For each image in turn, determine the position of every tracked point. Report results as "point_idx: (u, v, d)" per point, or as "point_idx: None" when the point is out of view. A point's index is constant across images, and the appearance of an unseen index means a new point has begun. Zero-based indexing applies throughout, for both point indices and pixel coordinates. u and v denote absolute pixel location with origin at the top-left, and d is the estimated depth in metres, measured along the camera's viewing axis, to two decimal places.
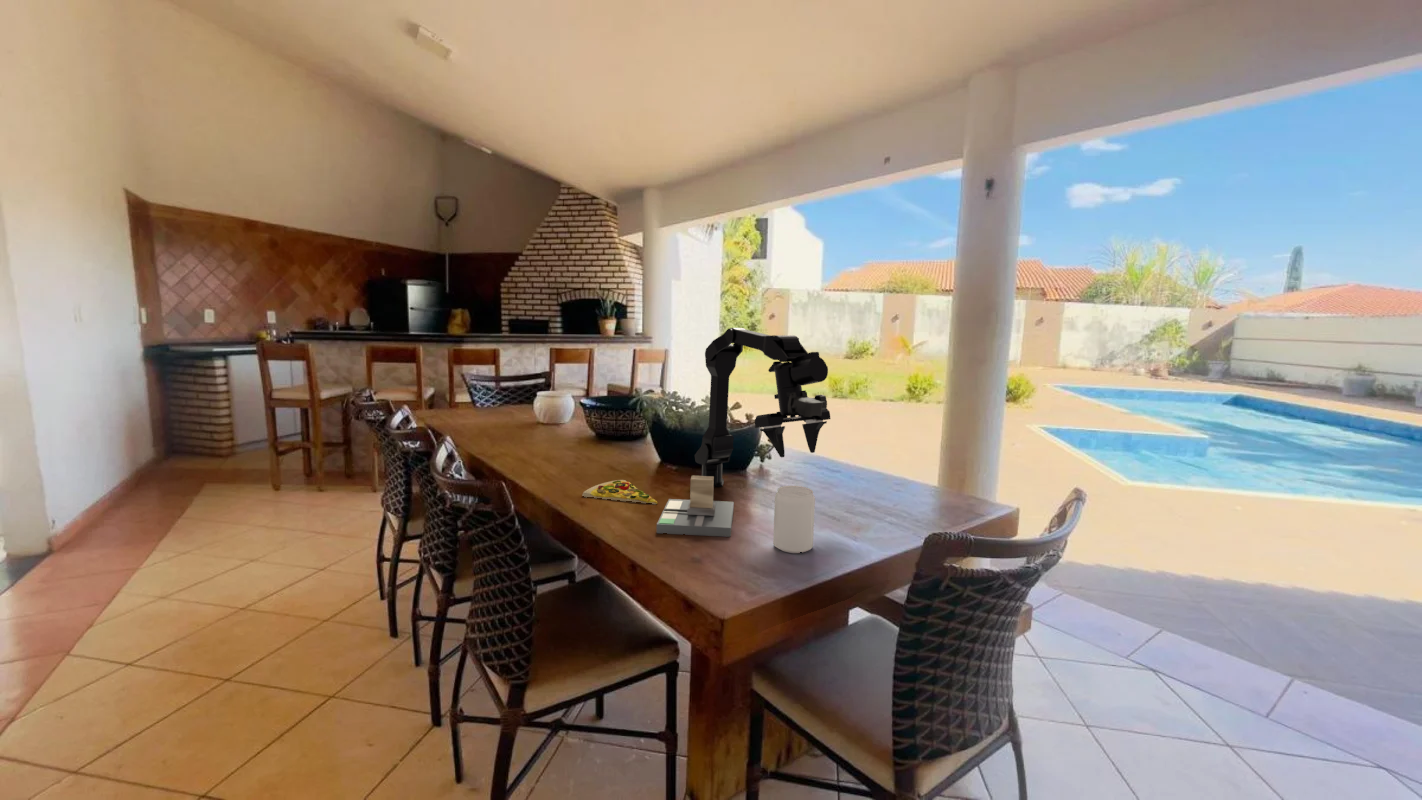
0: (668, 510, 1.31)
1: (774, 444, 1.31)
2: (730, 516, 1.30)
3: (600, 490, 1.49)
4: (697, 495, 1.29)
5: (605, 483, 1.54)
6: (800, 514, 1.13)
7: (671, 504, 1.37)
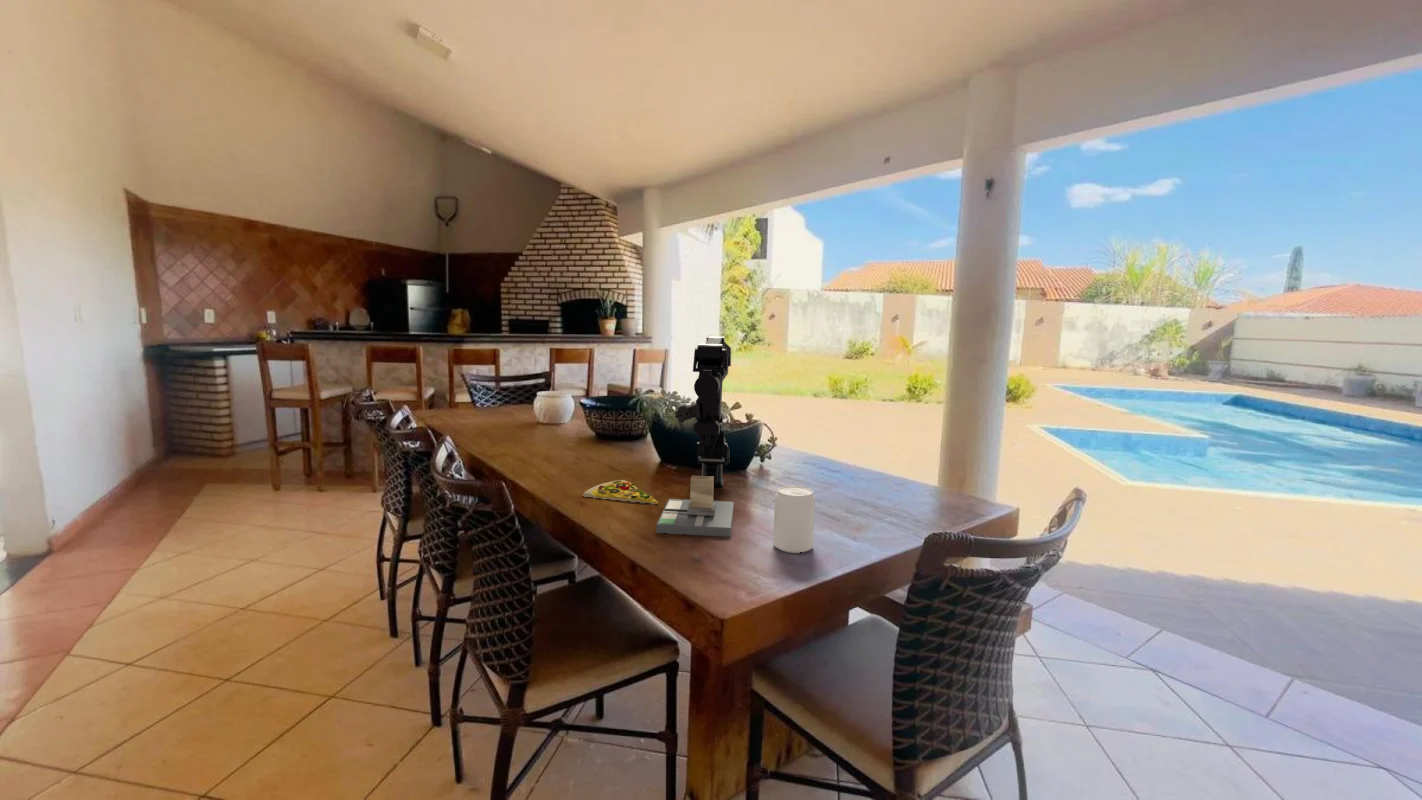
0: (668, 510, 1.31)
1: None
2: (730, 516, 1.30)
3: (601, 490, 1.49)
4: (697, 495, 1.29)
5: (606, 483, 1.54)
6: (800, 514, 1.13)
7: (671, 504, 1.37)
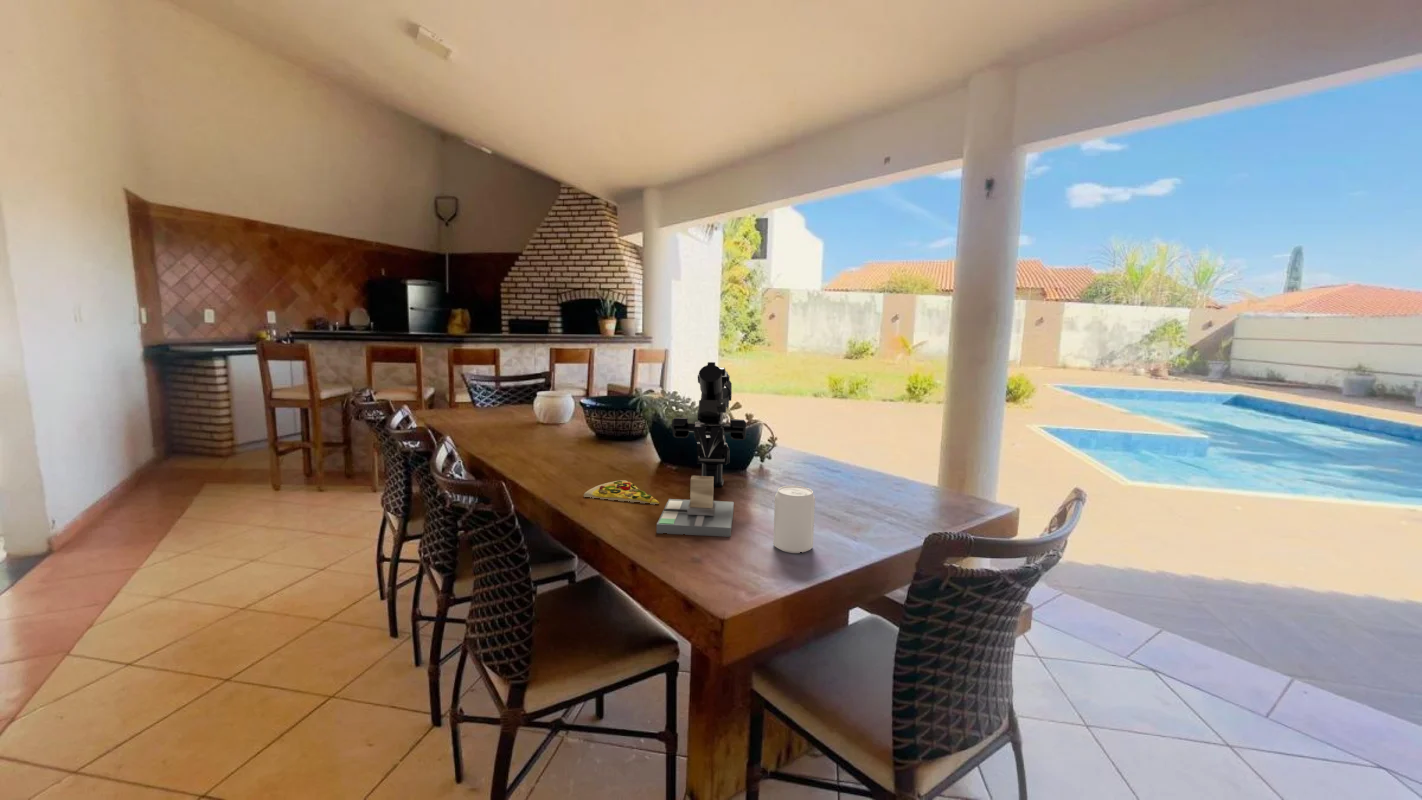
0: (668, 510, 1.31)
1: (702, 448, 1.44)
2: (730, 516, 1.30)
3: (602, 490, 1.49)
4: (697, 495, 1.29)
5: (606, 483, 1.54)
6: (800, 514, 1.13)
7: (671, 504, 1.37)
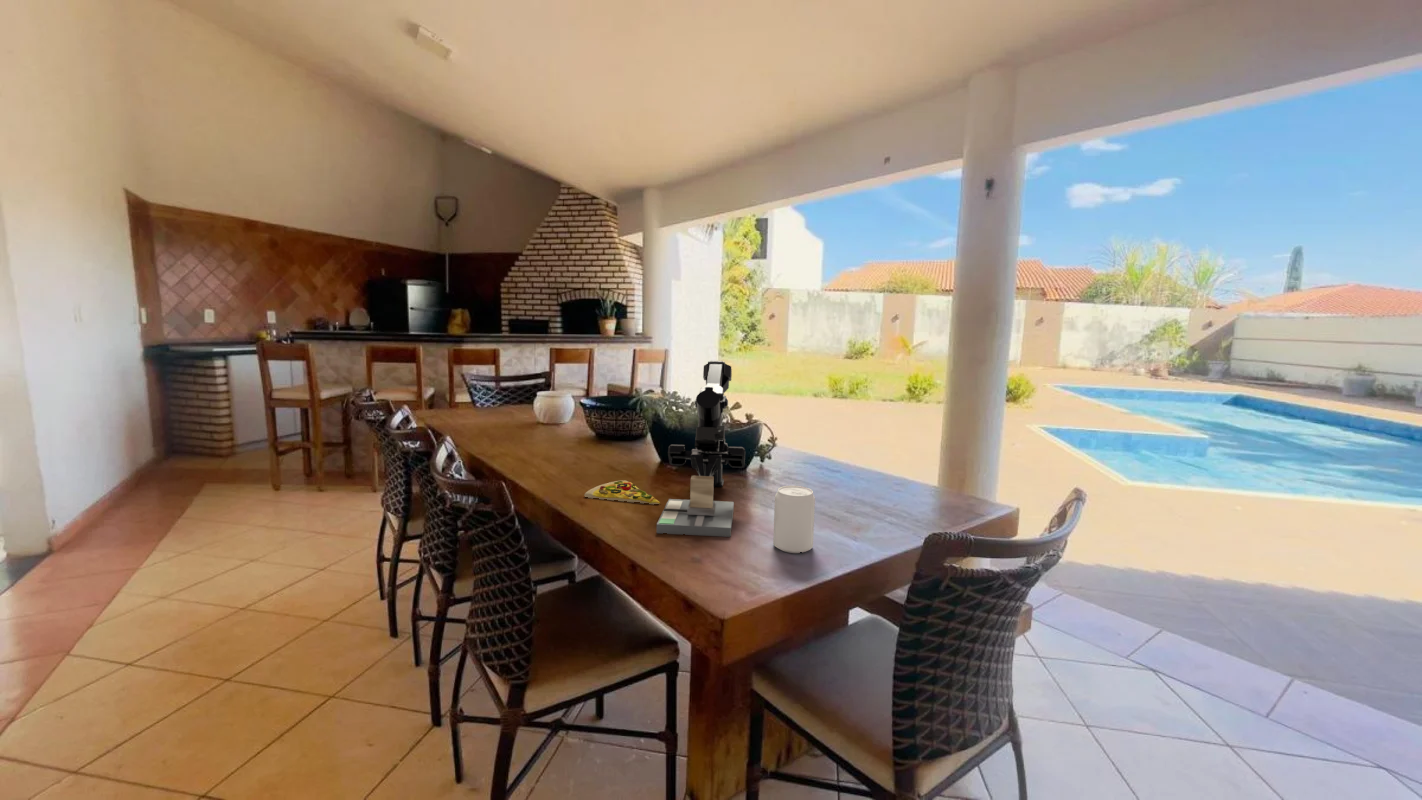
0: (668, 510, 1.31)
1: None
2: (730, 516, 1.30)
3: (602, 491, 1.48)
4: (697, 495, 1.29)
5: (607, 484, 1.54)
6: (800, 514, 1.13)
7: (671, 504, 1.37)
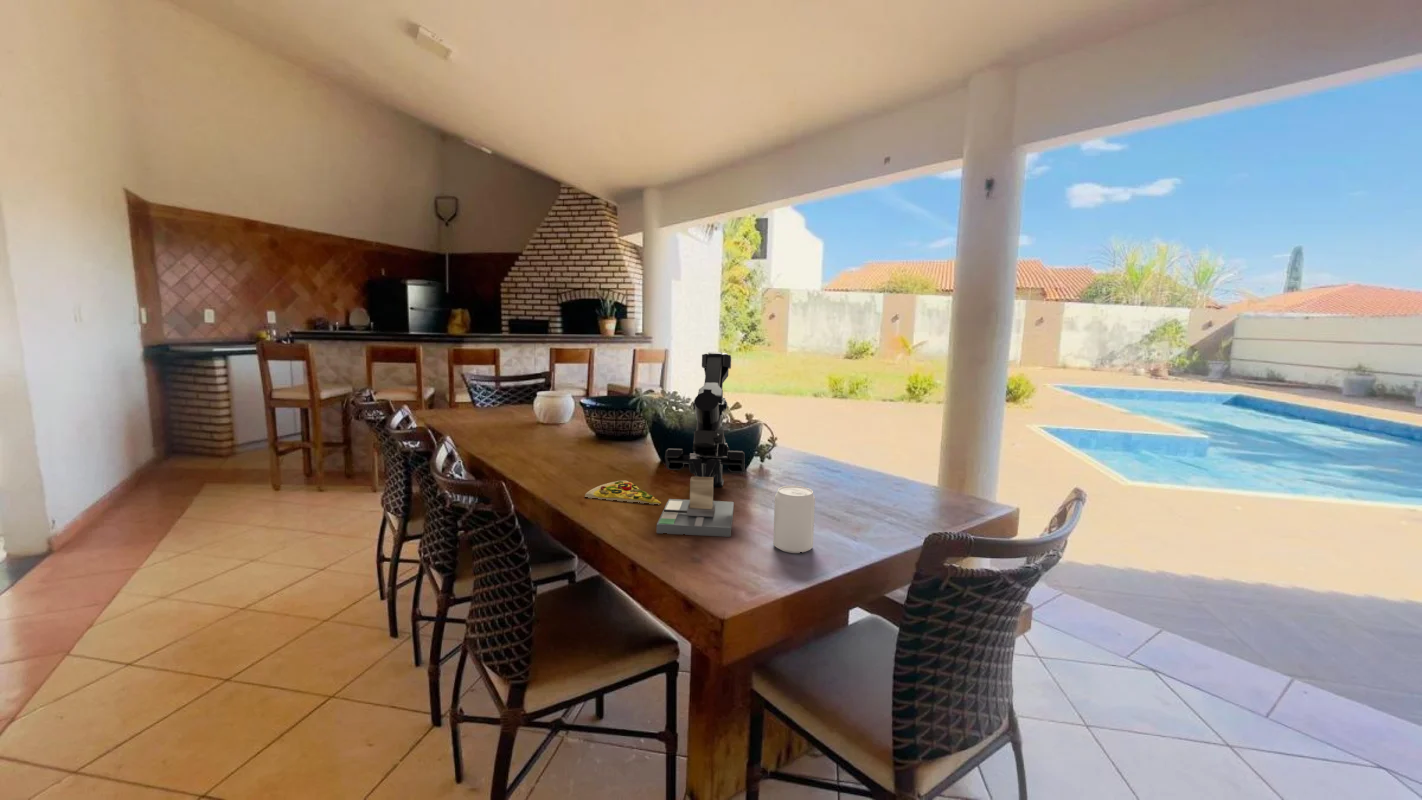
0: (668, 511, 1.30)
1: None
2: (730, 516, 1.30)
3: (603, 491, 1.48)
4: (696, 495, 1.28)
5: (607, 484, 1.54)
6: (800, 514, 1.13)
7: (671, 504, 1.37)
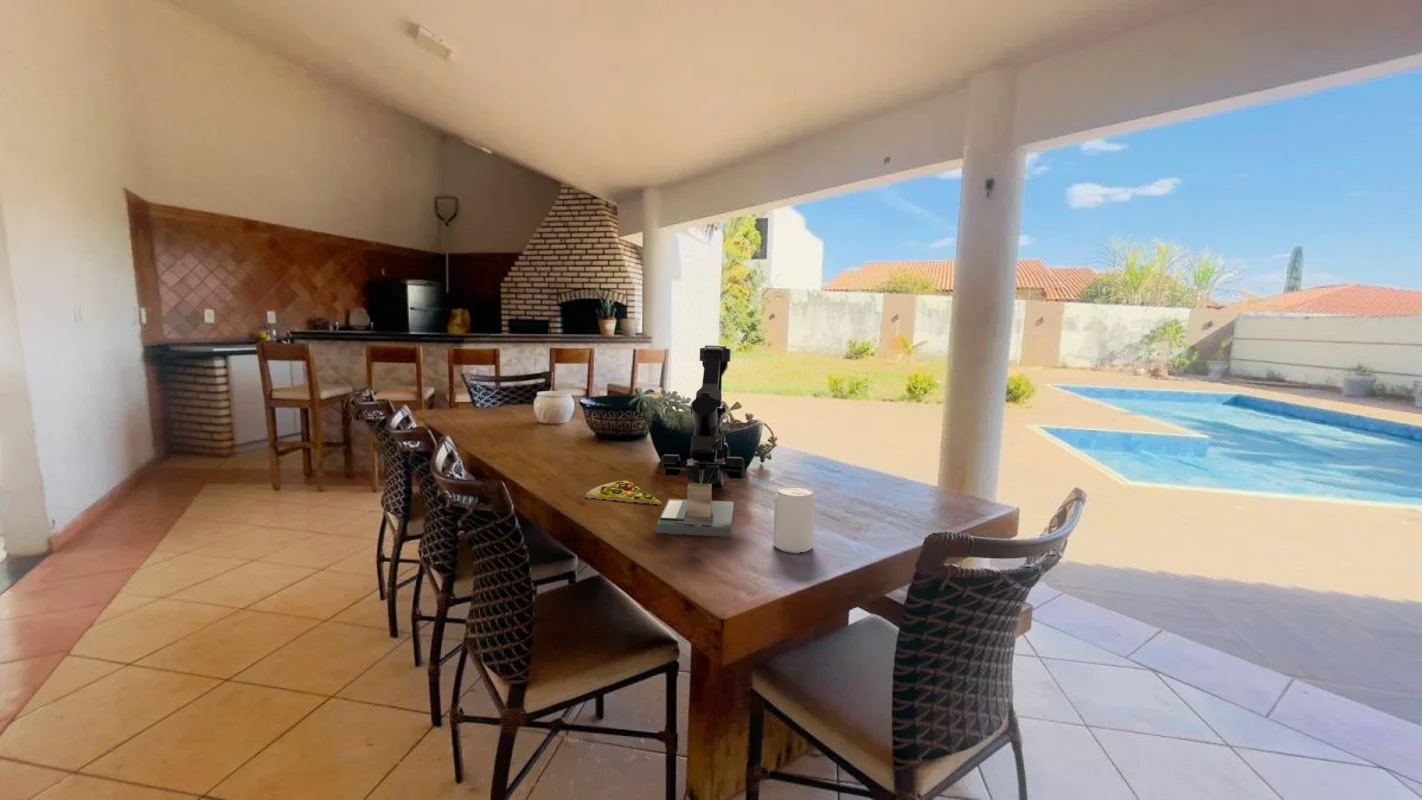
0: (664, 519, 1.25)
1: None
2: (730, 516, 1.30)
3: (603, 491, 1.48)
4: (694, 503, 1.23)
5: (608, 484, 1.54)
6: (800, 514, 1.13)
7: (671, 504, 1.37)
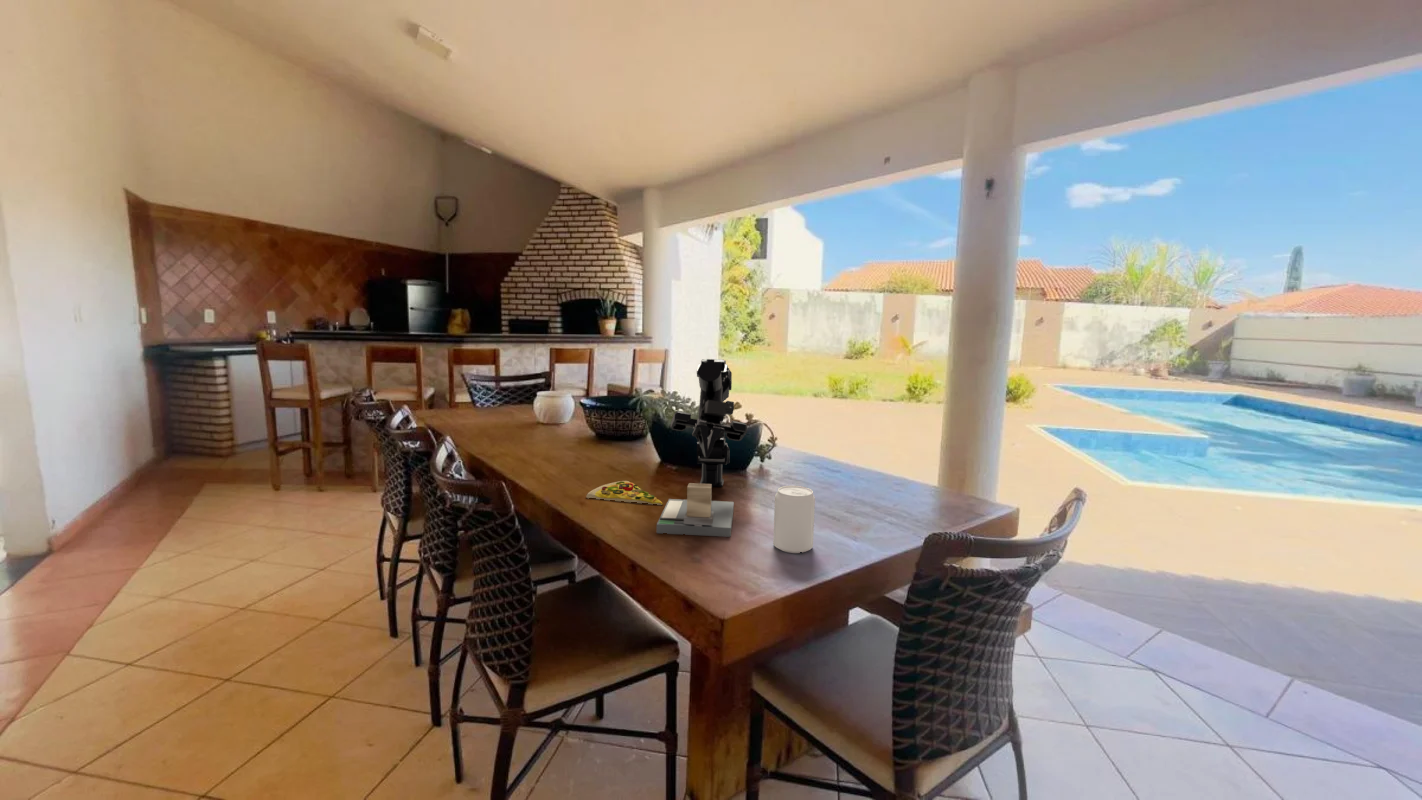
0: (664, 519, 1.25)
1: (701, 446, 1.43)
2: (730, 516, 1.30)
3: (604, 491, 1.48)
4: (694, 503, 1.23)
5: (609, 484, 1.54)
6: (800, 514, 1.13)
7: (671, 504, 1.37)
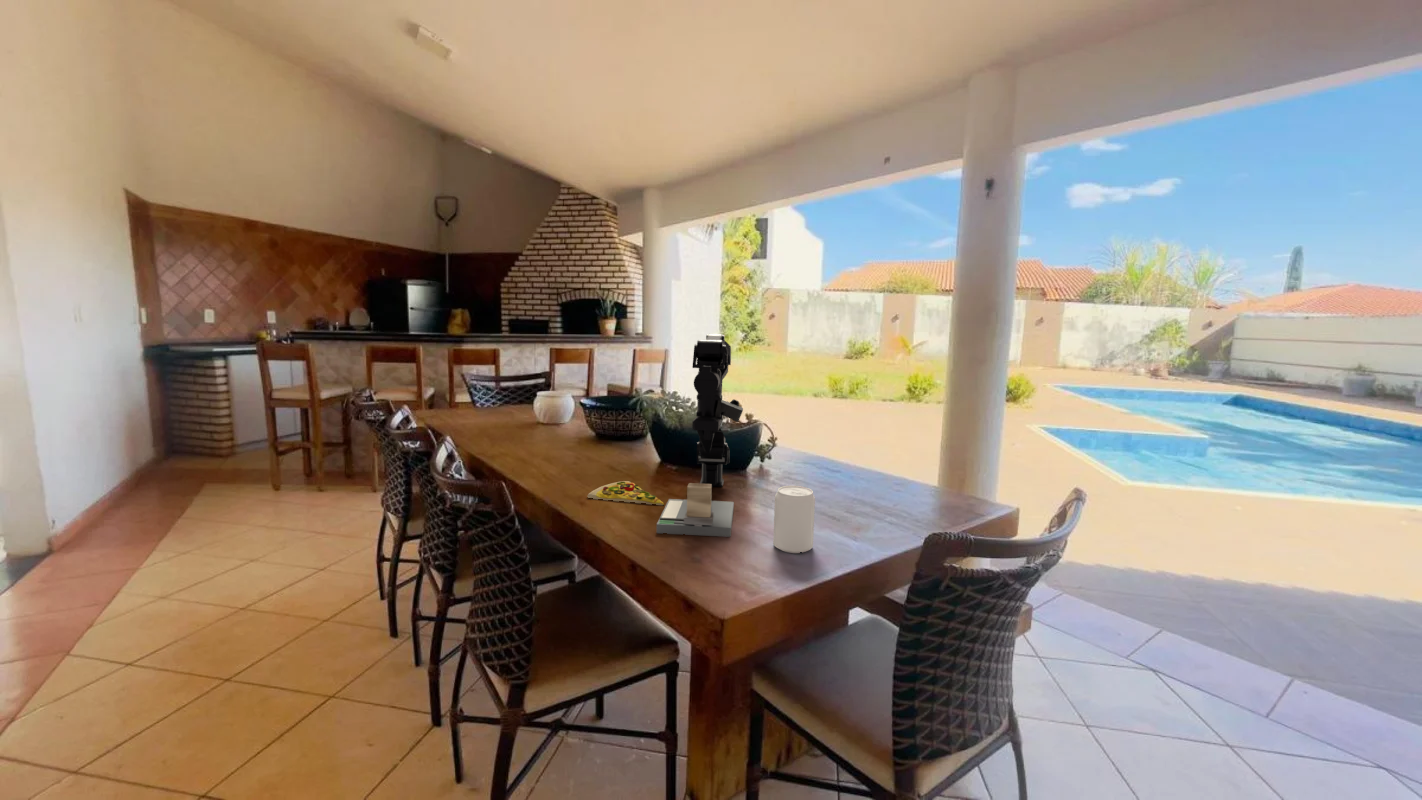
0: (664, 519, 1.25)
1: (703, 441, 1.42)
2: (730, 516, 1.30)
3: (605, 491, 1.48)
4: (694, 503, 1.23)
5: (609, 484, 1.53)
6: (800, 514, 1.13)
7: (671, 504, 1.37)
